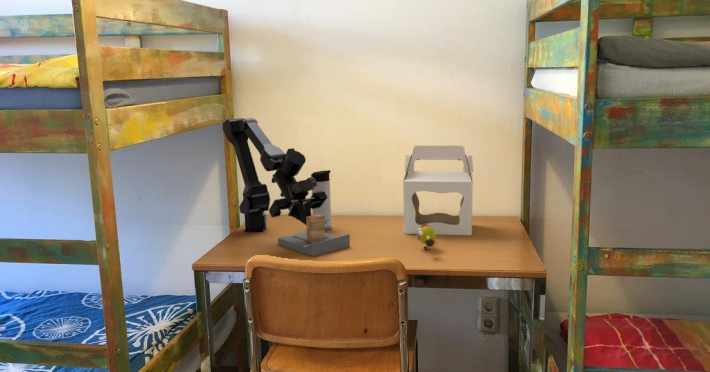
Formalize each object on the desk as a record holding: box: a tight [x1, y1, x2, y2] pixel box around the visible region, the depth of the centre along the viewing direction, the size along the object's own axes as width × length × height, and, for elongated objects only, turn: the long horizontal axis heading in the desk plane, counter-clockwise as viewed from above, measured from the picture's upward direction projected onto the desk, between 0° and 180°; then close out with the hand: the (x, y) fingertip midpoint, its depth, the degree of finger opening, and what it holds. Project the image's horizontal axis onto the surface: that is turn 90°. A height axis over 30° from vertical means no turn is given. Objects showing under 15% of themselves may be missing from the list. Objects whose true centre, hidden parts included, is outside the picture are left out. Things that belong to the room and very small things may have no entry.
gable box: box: [402, 145, 474, 236], centre depth 195 cm, size 22×13×28 cm, turn 79°
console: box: [277, 230, 351, 257], centre depth 182 cm, size 18×14×4 cm
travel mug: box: [310, 169, 332, 231], centre depth 200 cm, size 6×7×20 cm
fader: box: [306, 214, 326, 244], centre depth 176 cm, size 5×4×8 cm
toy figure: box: [416, 224, 437, 251], centre depth 176 cm, size 18×6×7 cm, turn 178°
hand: (311, 226), depth 178 cm, fingers closed
